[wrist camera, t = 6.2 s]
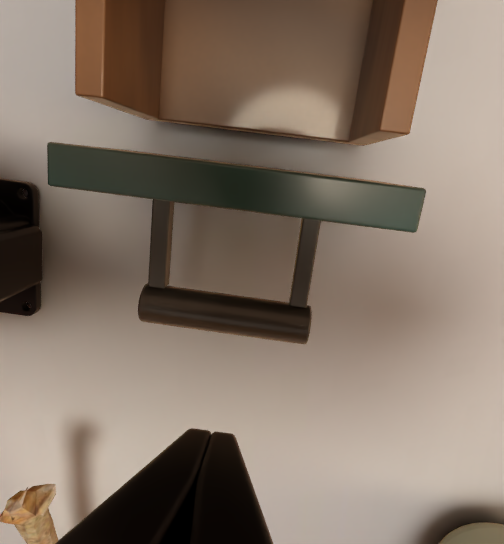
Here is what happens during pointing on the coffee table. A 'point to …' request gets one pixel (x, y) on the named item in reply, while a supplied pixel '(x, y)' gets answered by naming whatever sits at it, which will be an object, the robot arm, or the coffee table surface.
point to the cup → (476, 534)
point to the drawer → (248, 125)
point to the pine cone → (32, 514)
